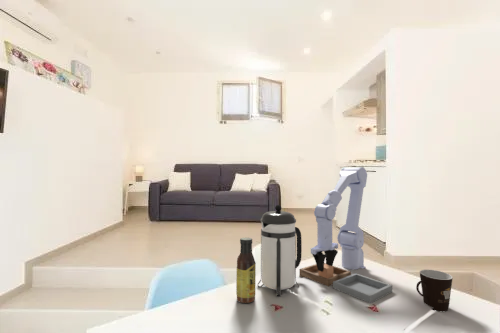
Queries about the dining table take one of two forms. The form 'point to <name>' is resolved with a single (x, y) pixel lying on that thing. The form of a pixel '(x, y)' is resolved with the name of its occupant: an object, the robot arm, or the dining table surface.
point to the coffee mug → (435, 289)
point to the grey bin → (362, 287)
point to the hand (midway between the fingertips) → (324, 269)
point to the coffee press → (279, 250)
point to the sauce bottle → (245, 272)
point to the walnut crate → (314, 275)
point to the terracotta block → (327, 271)
